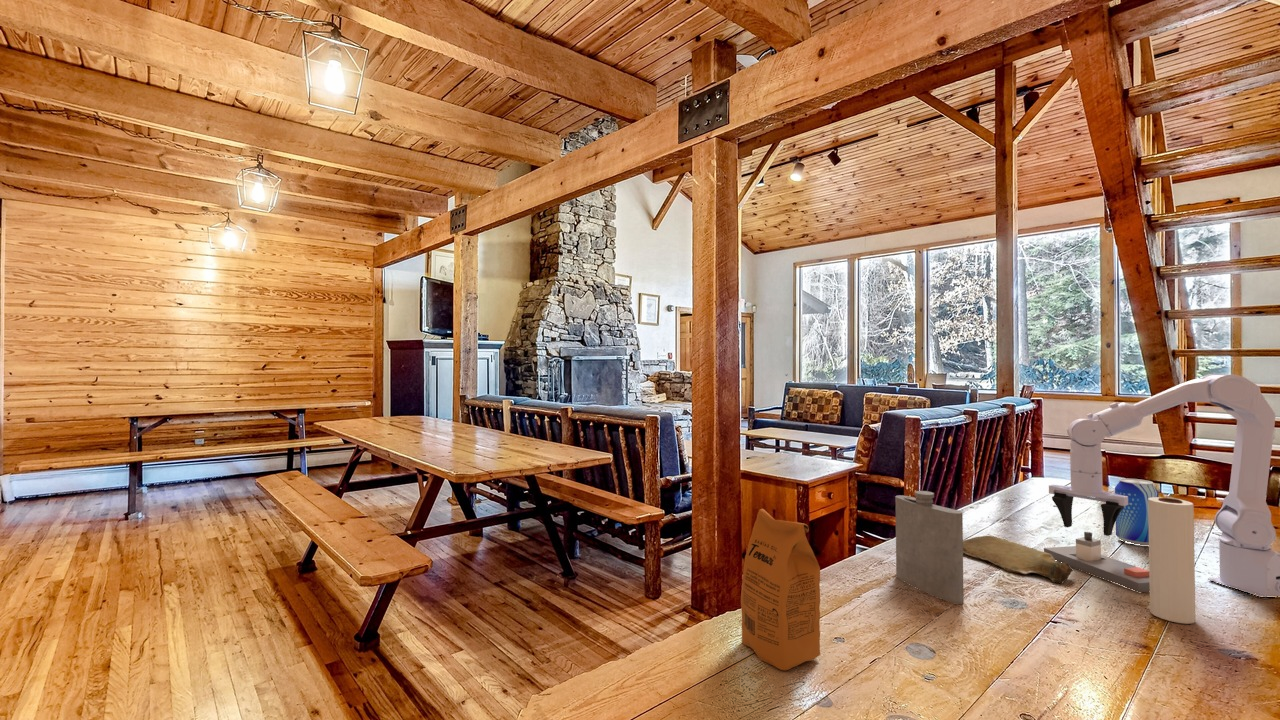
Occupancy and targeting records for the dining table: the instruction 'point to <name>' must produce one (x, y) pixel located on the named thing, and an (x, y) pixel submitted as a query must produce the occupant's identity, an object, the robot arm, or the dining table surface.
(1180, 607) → the paper towel roll
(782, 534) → the coffee package
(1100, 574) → the power strip
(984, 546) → the stone tool
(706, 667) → the dining table surface
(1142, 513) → the beer can
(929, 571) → the hip flask
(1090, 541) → the plug
